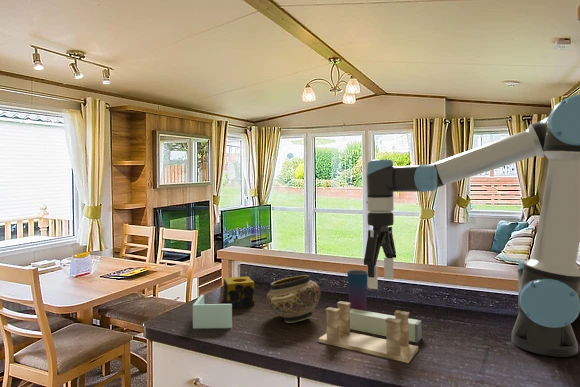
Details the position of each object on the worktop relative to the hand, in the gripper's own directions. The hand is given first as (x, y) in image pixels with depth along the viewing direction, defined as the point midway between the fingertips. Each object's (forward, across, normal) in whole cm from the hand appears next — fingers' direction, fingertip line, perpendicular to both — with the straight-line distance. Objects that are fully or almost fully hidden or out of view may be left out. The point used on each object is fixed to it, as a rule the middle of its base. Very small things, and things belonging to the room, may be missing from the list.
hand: (381, 283), depth 114 cm
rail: (+15, 0, 0) cm, 15 cm away
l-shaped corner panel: (+15, +19, -49) cm, 55 cm away
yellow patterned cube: (+15, +2, -54) cm, 56 cm away
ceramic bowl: (+15, +5, -28) cm, 32 cm away
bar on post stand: (+15, +12, 0) cm, 19 cm away
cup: (+15, -10, -12) cm, 21 cm away
